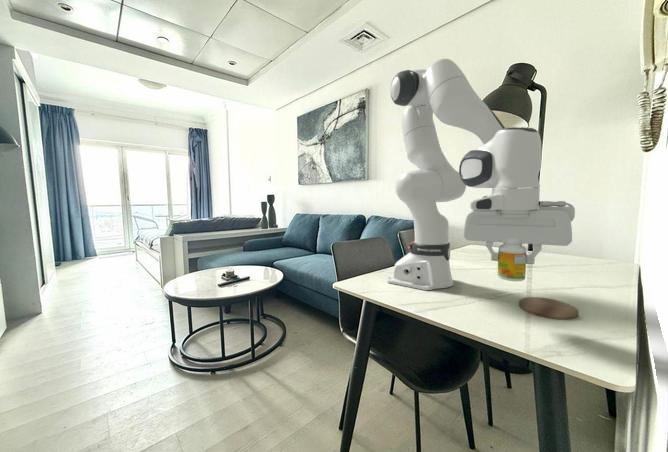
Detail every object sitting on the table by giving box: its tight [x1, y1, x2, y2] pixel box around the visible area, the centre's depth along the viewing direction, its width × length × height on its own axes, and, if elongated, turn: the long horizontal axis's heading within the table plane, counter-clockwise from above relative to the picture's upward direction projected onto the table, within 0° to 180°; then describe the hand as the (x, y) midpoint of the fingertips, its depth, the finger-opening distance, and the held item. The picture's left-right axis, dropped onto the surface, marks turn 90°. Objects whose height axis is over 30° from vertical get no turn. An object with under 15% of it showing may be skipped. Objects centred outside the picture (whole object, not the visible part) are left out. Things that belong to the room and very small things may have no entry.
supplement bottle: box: [497, 238, 528, 282], centre depth 62 cm, size 5×5×10 cm
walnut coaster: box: [518, 296, 580, 320], centre depth 70 cm, size 12×12×1 cm
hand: (511, 261), depth 62 cm, fingers closed on supplement bottle, 5 cm apart
